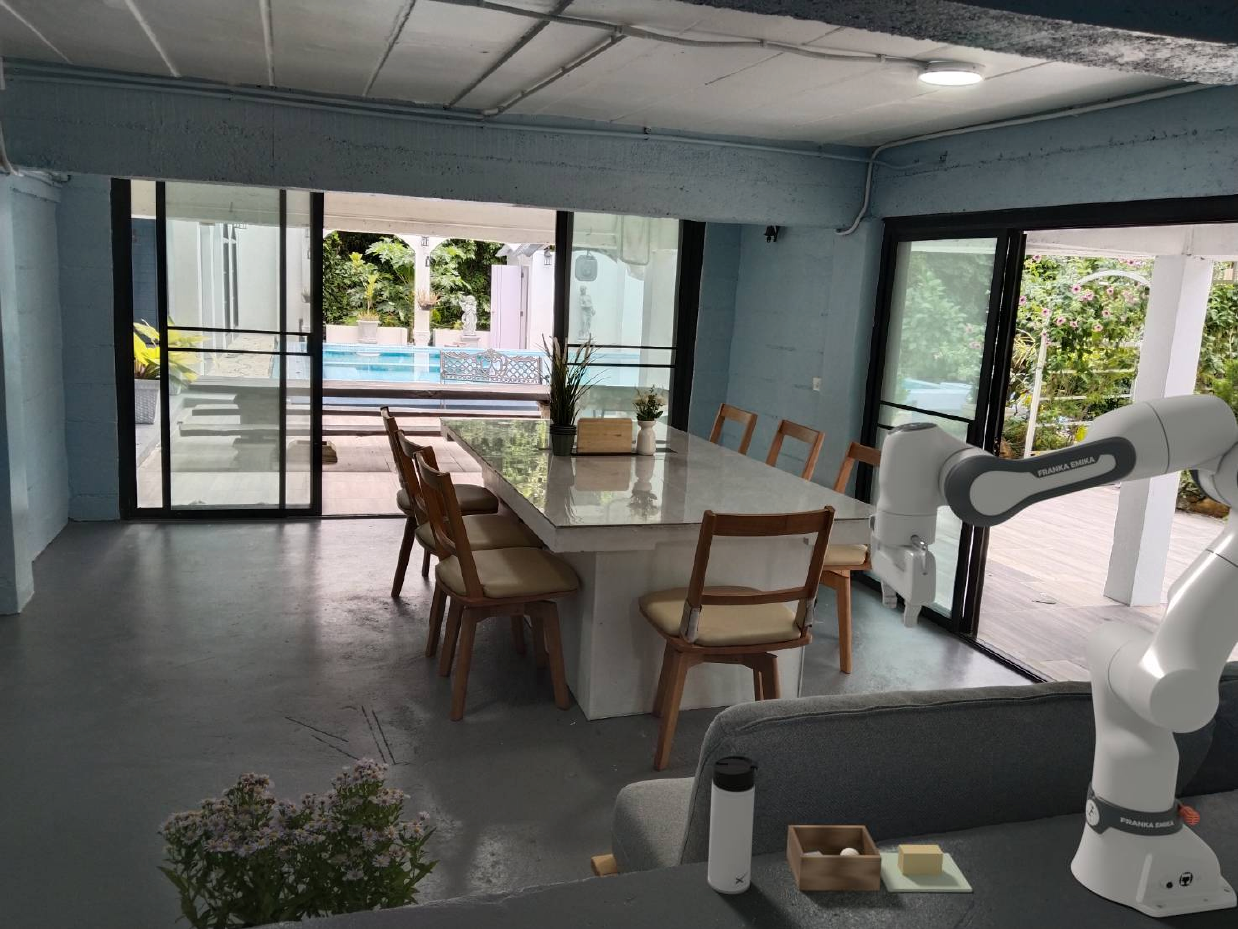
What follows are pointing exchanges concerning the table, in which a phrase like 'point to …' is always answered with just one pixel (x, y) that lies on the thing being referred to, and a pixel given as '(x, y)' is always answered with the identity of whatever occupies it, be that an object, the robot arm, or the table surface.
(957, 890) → the lid
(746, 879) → the travel mug
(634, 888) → the table surface
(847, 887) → the walnut box
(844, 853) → the cream ball
